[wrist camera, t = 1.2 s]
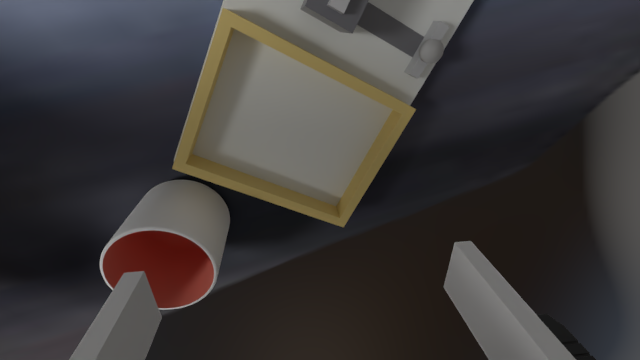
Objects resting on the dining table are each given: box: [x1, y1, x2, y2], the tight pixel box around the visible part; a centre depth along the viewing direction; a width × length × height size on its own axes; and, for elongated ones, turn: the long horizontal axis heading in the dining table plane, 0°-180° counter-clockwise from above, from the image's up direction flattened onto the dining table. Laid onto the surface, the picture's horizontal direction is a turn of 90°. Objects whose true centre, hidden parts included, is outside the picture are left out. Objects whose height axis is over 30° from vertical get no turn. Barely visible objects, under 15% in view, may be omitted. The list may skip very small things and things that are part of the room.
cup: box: [100, 180, 230, 309], centre depth 32 cm, size 10×10×10 cm
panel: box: [172, 0, 474, 227], centre depth 28 cm, size 20×32×4 cm, turn 153°
